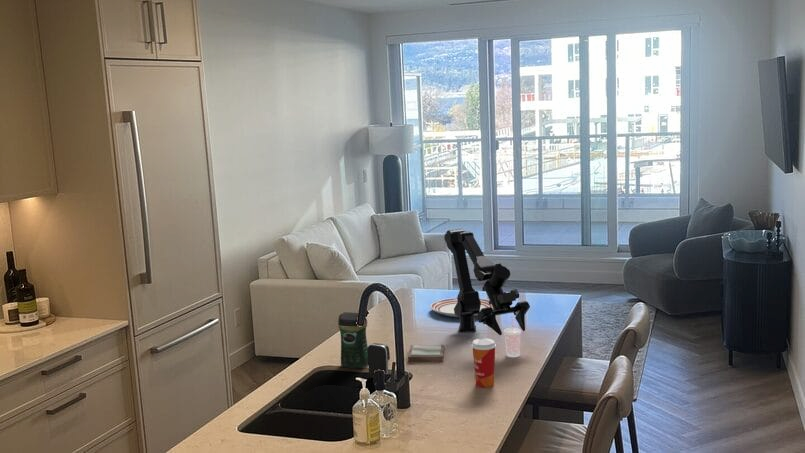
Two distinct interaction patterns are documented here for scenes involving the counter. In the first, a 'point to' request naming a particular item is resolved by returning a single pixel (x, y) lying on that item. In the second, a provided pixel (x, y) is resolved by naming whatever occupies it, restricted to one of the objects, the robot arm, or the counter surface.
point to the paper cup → (484, 362)
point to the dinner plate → (453, 306)
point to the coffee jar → (352, 341)
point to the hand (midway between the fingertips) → (512, 332)
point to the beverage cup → (512, 341)
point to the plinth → (426, 353)
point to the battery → (377, 357)
